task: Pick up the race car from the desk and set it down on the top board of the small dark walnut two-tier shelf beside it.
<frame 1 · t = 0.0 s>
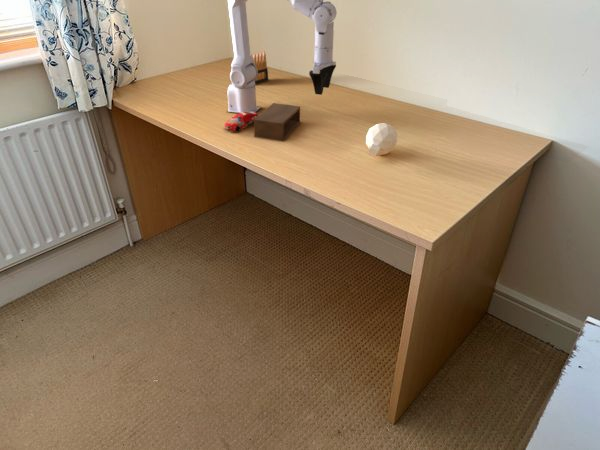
hand: (322, 90, 141), 10 cm above the table, tool pointing down, fingers open, 7 cm apart
shelf: (278, 129, 140), on the table
white faceted rounded lump: (376, 155, 125), on the table
ammunition clip: (257, 82, 182), on the table
race car: (241, 126, 143), on the table
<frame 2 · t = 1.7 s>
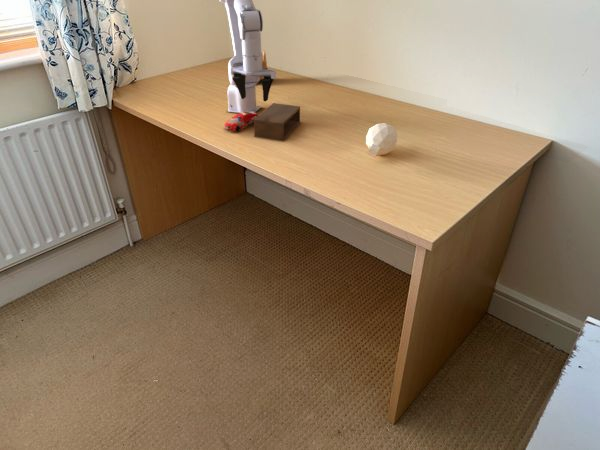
hand: (254, 99, 138), 9 cm above the table, tool pointing down, fingers open, 7 cm apart
nothing on the table moved.
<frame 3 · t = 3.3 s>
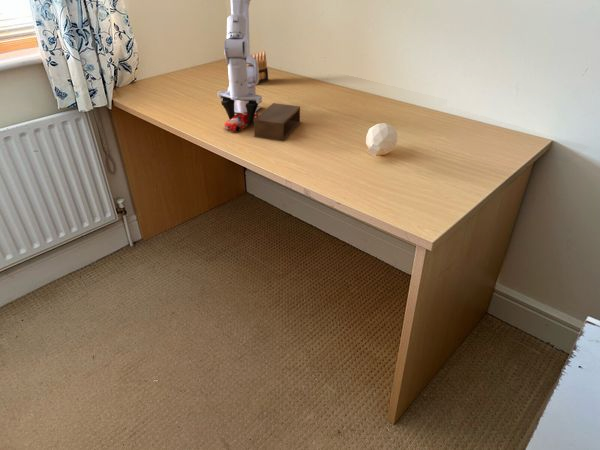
hand: (241, 122, 142), 1 cm above the table, tool pointing down, fingers closed on race car, 6 cm apart
race car: (241, 126, 143), on the table, touching gripper
everything else where it was.
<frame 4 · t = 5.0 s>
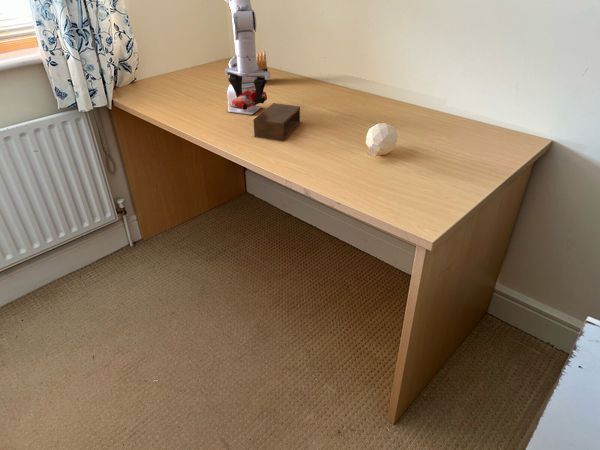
hand: (249, 100, 137), 9 cm above the table, tool pointing down, fingers closed on race car, 6 cm apart
race car: (249, 105, 138), point 7 cm above the table, touching gripper
everything else where it was.
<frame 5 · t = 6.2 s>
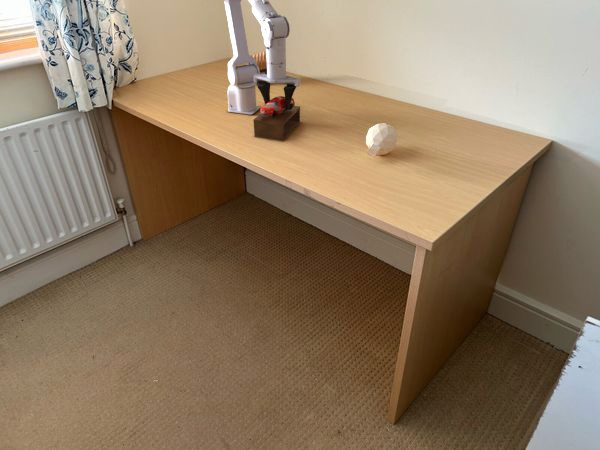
hand: (277, 106, 136), 8 cm above the table, tool pointing down, fingers closed on race car, 6 cm apart
race car: (277, 111, 137), point 6 cm above the table, touching gripper
everything else where it was.
when the fingers open (7 cm above the table, at t = 7.0 s): race car stays where it is, resting on shelf.
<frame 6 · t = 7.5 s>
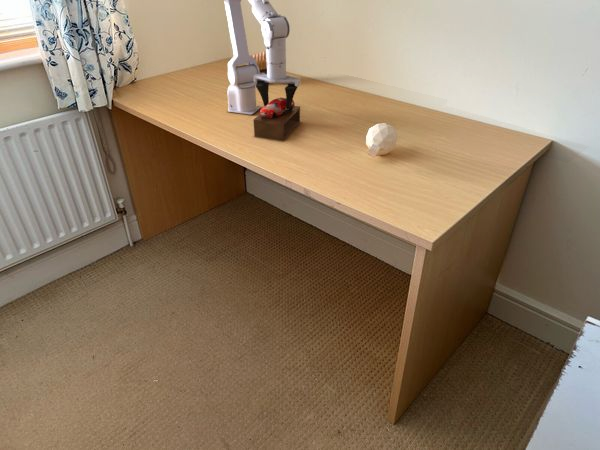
hand: (277, 106, 136), 8 cm above the table, tool pointing down, fingers open, 7 cm apart
race car: (277, 113, 137), point 5 cm above the table, touching shelf
everything else where it was.
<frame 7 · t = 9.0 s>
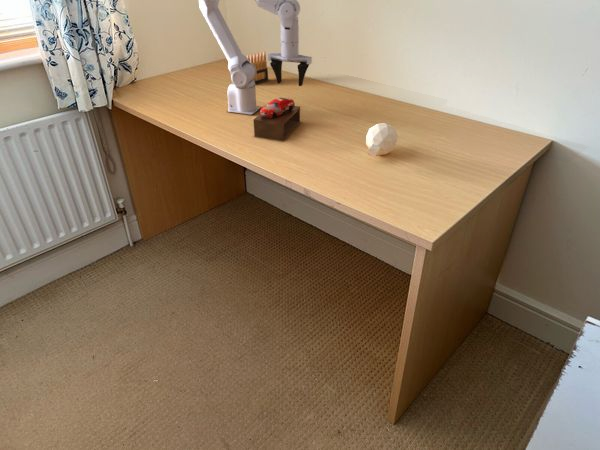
hand: (290, 84, 146), 10 cm above the table, tool pointing down, fingers open, 7 cm apart
nothing on the table moved.
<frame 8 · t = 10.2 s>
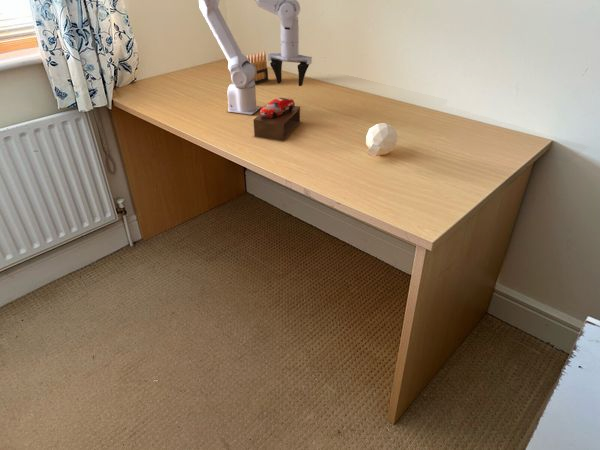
hand: (290, 84, 146), 10 cm above the table, tool pointing down, fingers open, 7 cm apart
nothing on the table moved.
at the end: race car 0.0 cm off-centre on the shelf, point 5.4 cm above the shelf's base; race car tilted 0°; the gripper is holding nothing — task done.
